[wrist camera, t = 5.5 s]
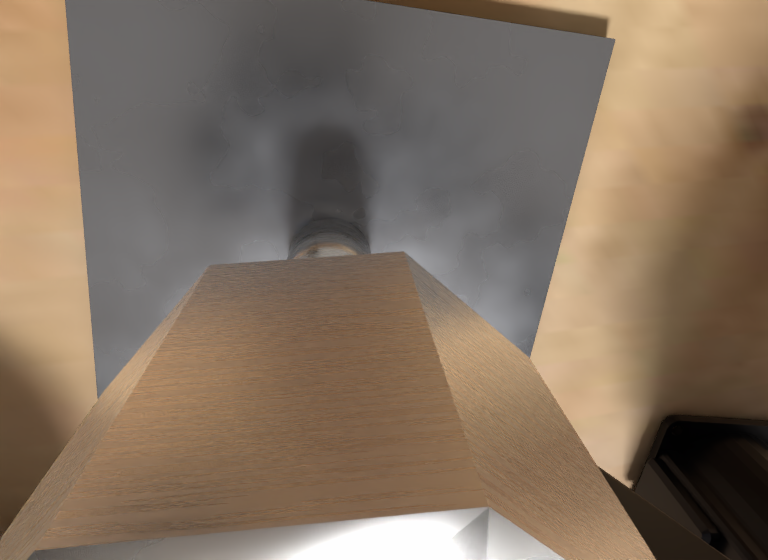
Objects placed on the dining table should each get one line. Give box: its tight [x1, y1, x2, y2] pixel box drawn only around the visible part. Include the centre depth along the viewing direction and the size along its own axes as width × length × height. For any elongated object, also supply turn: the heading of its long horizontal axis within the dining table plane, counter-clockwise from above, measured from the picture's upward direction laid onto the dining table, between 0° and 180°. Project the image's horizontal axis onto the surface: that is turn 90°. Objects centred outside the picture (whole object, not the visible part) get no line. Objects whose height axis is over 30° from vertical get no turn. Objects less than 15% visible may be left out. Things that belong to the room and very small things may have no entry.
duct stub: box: [65, 0, 615, 399], centre depth 17 cm, size 16×16×4 cm
